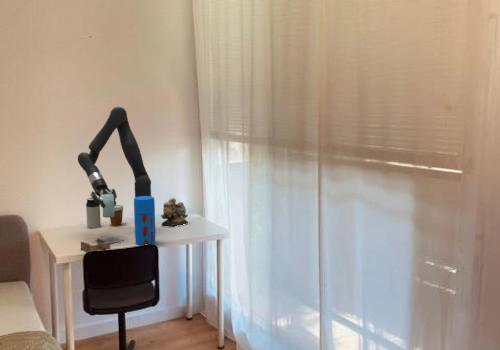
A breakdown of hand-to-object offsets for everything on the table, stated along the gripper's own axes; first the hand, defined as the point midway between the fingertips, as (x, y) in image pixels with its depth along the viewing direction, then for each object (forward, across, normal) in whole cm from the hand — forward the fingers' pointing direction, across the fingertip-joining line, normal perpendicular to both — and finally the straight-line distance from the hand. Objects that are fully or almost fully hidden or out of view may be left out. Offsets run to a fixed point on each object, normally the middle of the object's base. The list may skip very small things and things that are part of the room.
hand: (109, 206), depth 261 cm
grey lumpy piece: (+10, +48, +19) cm, 53 cm away
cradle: (+19, -13, +9) cm, 25 cm away
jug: (+4, 0, +4) cm, 6 cm away
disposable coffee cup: (-8, +22, +37) cm, 44 cm away
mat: (+13, 0, +15) cm, 20 cm away
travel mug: (-12, +10, +41) cm, 44 cm away
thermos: (+25, +12, +3) cm, 28 cm away
